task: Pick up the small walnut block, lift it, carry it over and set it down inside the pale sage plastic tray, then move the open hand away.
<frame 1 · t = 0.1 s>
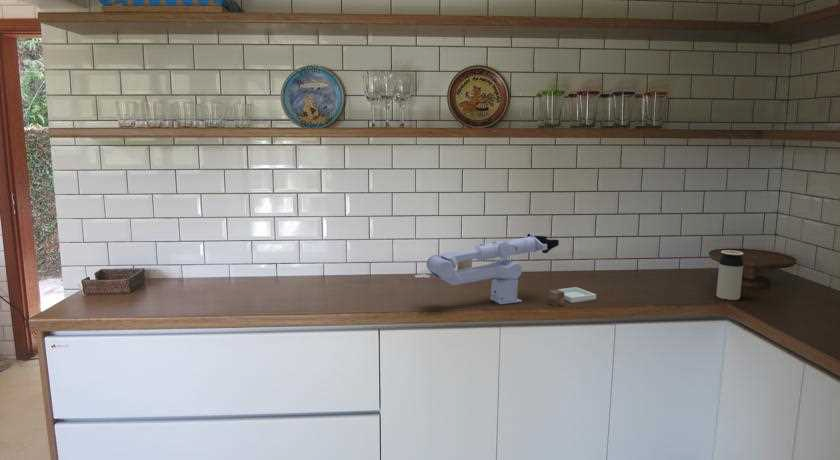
hand: (552, 240, 212), 22 cm above the worktop, tool horizontal, fingers open, 7 cm apart
walnut block: (556, 304, 204), on the worktop
travel mug: (727, 298, 213), on the worktop
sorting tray: (573, 297, 213), on the worktop
skincare box: (464, 279, 240), on the worktop
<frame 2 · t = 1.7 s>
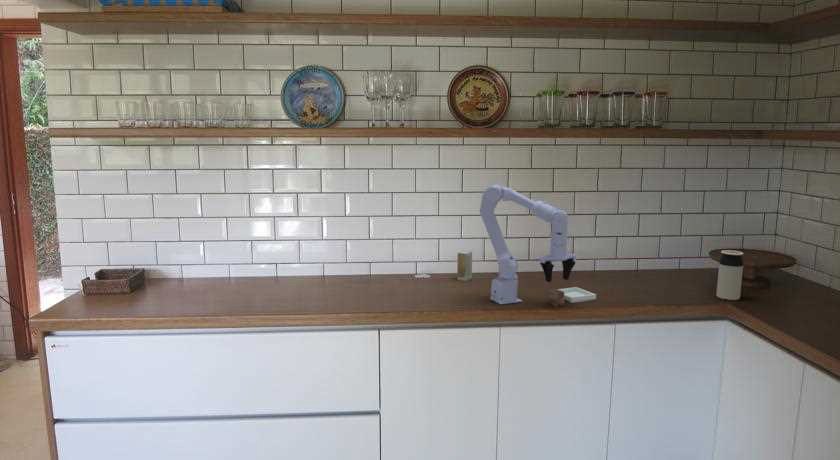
hand: (557, 280, 202), 9 cm above the worktop, tool pointing down, fingers open, 7 cm apart
nothing on the worktop moved.
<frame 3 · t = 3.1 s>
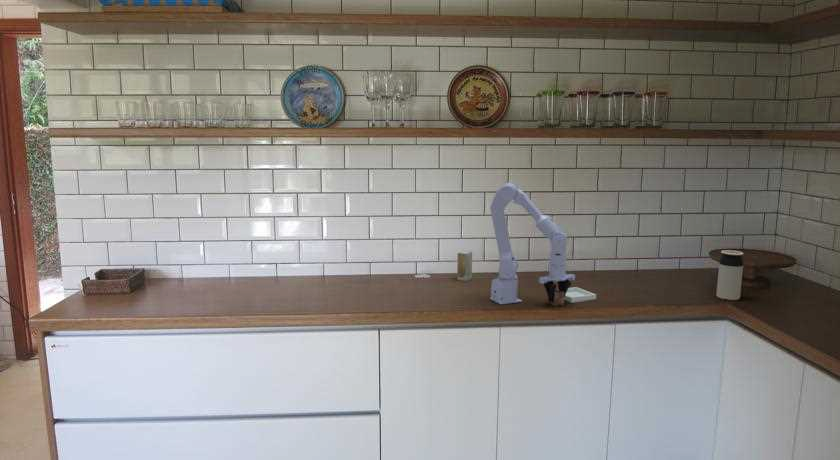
hand: (556, 300, 204), 1 cm above the worktop, tool pointing down, fingers closed on walnut block, 4 cm apart
walnut block: (556, 304, 204), on the worktop, touching gripper
everything else where it was.
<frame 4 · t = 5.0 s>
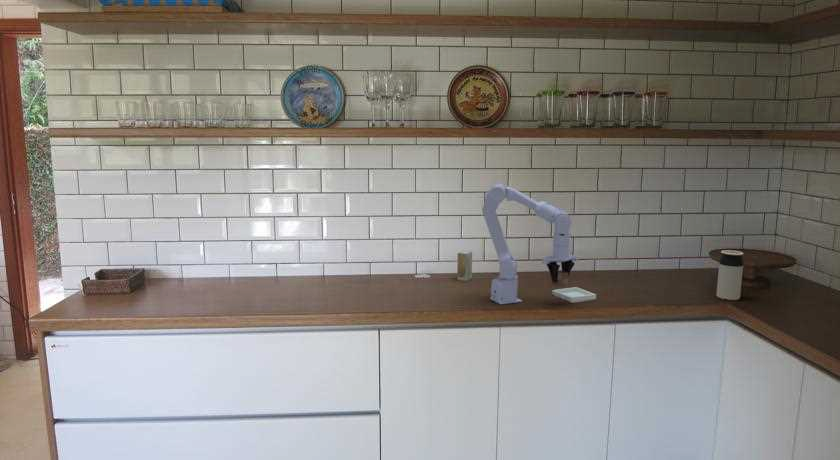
hand: (559, 281, 204), 8 cm above the worktop, tool pointing down, fingers closed on walnut block, 4 cm apart
walnut block: (559, 285, 204), point 7 cm above the worktop, touching gripper
everything else where it was.
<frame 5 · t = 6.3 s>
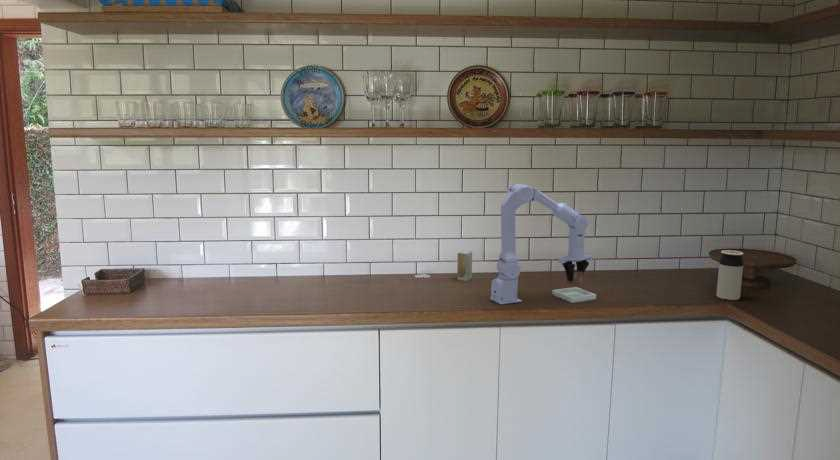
hand: (574, 280, 212), 7 cm above the worktop, tool pointing down, fingers closed on walnut block, 4 cm apart
walnut block: (574, 283, 212), point 5 cm above the worktop, touching gripper
everything else where it was.
when the fingers open (3 cm above the worktop, at t = 7.4 s): walnut block drops 1 cm, resting on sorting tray.
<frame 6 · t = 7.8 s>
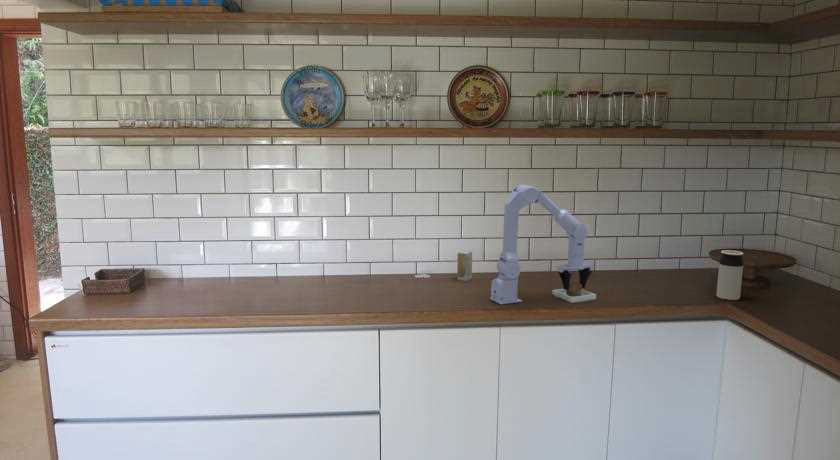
hand: (574, 288, 212), 3 cm above the worktop, tool pointing down, fingers open, 7 cm apart
walnut block: (573, 296, 213), resting on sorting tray
everything else where it was.
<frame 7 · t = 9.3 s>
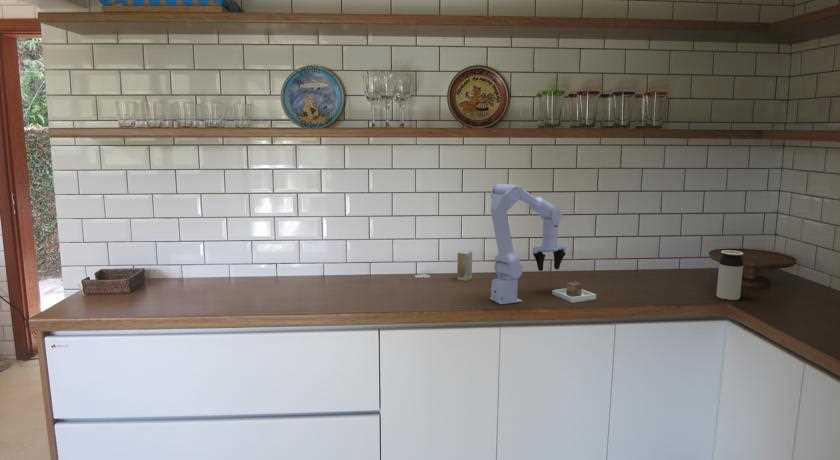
hand: (548, 269, 219), 9 cm above the worktop, tool pointing down, fingers open, 7 cm apart
nothing on the worktop moved.
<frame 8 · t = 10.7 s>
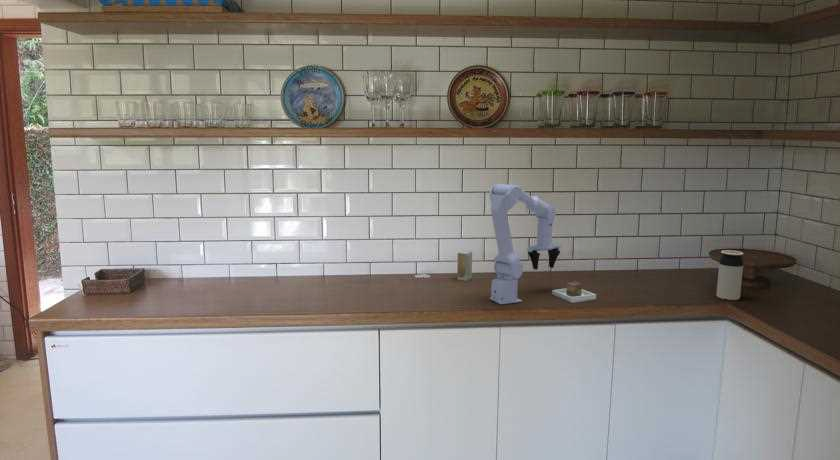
hand: (543, 268, 220), 9 cm above the worktop, tool pointing down, fingers open, 7 cm apart
nothing on the worktop moved.
at the end: walnut block inside the target area on the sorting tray (0.1 cm from its centre), point 0.5 cm above the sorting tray's base; walnut block tilted 0°; the gripper is holding nothing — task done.
